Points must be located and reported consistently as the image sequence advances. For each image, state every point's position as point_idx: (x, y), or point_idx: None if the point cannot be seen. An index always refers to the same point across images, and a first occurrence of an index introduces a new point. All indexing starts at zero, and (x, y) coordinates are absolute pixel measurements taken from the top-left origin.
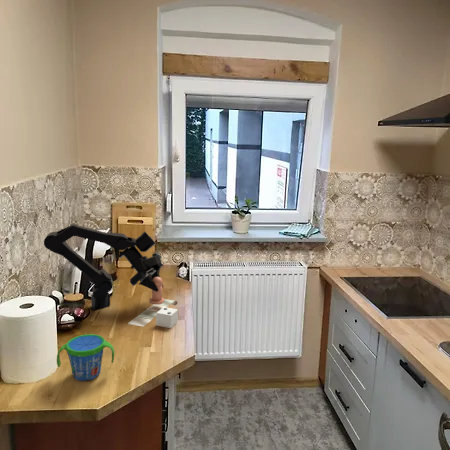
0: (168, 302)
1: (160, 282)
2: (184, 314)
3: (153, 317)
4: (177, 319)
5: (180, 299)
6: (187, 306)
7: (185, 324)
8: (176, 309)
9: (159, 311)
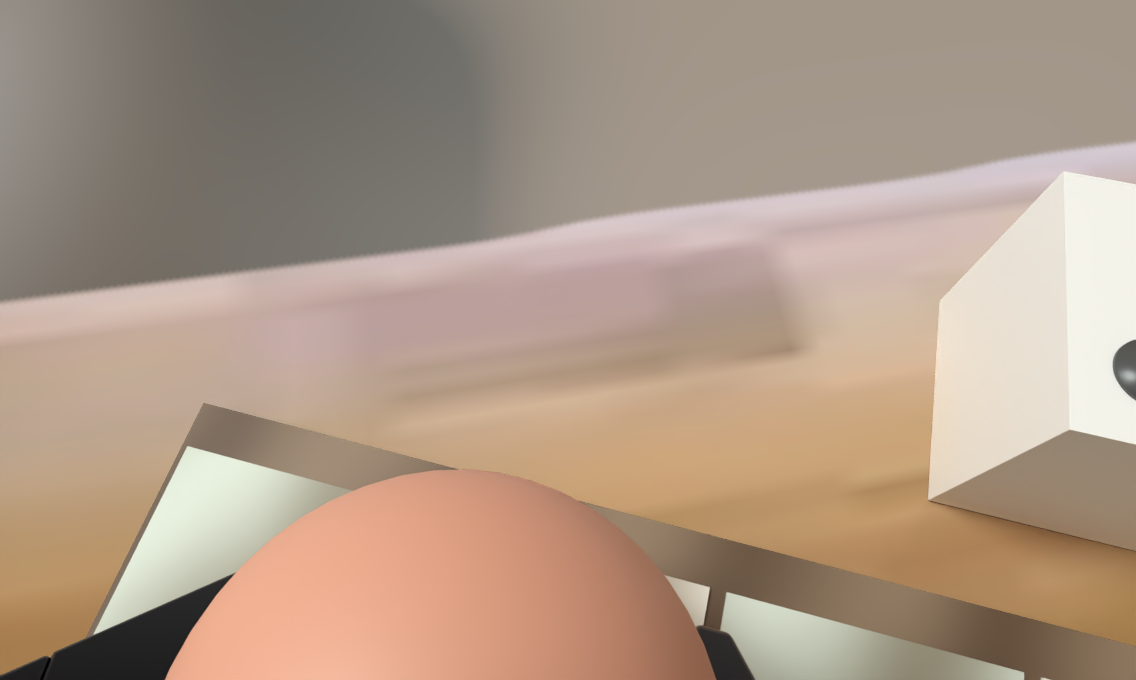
0: (260, 536)
1: (625, 538)
2: (611, 267)
3: (947, 669)
4: (981, 266)
5: (57, 396)
6: (336, 267)
7: (905, 216)
8: (1075, 191)
9: None
